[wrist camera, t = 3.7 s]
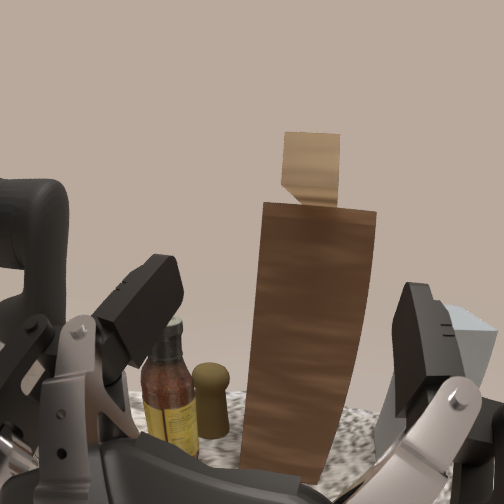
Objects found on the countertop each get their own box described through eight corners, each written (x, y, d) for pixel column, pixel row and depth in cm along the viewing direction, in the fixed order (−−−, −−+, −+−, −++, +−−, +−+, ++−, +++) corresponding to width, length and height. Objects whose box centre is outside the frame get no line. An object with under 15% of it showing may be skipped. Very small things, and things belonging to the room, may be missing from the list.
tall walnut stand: (266, 414, 41) (288, 213, 39) (326, 424, 39) (361, 220, 36) (239, 469, 28) (263, 202, 25) (317, 484, 25) (376, 211, 23)
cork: (210, 411, 41) (212, 353, 40) (237, 428, 37) (242, 368, 36) (181, 424, 36) (179, 364, 35) (208, 444, 32) (209, 383, 32)
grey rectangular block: (373, 431, 35) (409, 301, 34) (417, 432, 33) (458, 305, 31) (377, 482, 24) (438, 328, 22) (430, 480, 22) (497, 330, 20)
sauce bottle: (202, 443, 32) (204, 313, 31) (195, 473, 26) (192, 333, 25) (157, 435, 32) (149, 306, 31) (144, 463, 26) (127, 323, 25)
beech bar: (314, 215, 38) (315, 193, 37) (336, 218, 37) (337, 195, 37) (281, 184, 15) (284, 131, 15) (338, 188, 14) (339, 134, 14)
